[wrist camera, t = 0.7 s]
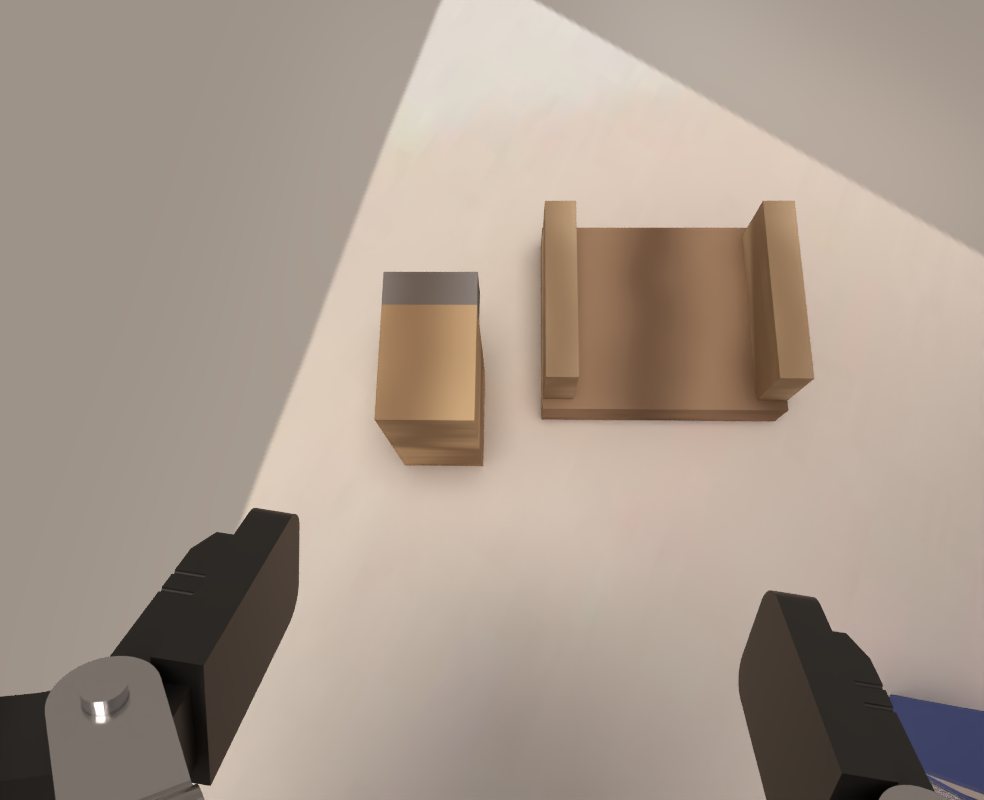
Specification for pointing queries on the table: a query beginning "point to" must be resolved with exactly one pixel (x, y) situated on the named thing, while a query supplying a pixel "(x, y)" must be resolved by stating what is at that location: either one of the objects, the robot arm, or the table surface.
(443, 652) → the table surface
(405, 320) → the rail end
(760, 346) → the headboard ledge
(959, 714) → the walkman
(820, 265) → the table surface
